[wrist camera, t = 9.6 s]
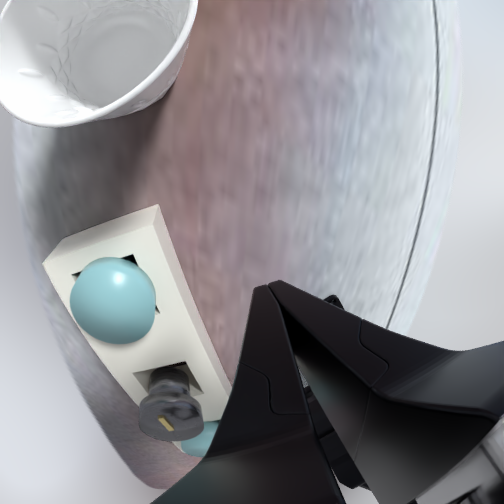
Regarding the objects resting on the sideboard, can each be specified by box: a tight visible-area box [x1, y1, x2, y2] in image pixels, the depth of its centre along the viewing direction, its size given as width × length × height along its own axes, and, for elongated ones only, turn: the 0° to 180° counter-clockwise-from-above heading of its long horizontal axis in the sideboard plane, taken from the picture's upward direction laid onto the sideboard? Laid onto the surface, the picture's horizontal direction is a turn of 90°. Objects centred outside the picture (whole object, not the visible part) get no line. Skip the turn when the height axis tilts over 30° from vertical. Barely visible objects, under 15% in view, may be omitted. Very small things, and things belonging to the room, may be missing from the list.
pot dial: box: [139, 367, 204, 441], centre depth 19 cm, size 5×5×5 cm
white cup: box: [0, 0, 198, 128], centre depth 10 cm, size 8×8×10 cm
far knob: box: [181, 420, 220, 457], centre depth 25 cm, size 5×5×5 cm
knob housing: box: [42, 204, 232, 453], centre depth 22 cm, size 25×8×4 cm, turn 14°
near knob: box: [70, 254, 156, 344], centre depth 17 cm, size 5×5×5 cm
